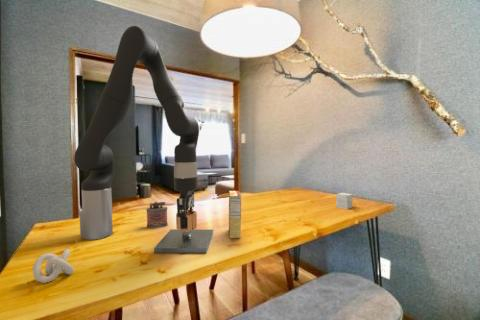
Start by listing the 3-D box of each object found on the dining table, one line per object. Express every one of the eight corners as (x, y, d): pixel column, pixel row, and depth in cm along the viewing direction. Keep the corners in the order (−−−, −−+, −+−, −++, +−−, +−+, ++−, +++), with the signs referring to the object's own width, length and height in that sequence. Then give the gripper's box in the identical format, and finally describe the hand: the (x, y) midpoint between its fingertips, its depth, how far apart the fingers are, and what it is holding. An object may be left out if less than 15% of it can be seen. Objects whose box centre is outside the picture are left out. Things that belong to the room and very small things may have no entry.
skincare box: (341, 205, 127) (341, 192, 127) (352, 207, 122) (352, 194, 122) (335, 207, 123) (336, 193, 123) (347, 209, 119) (347, 195, 118)
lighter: (146, 228, 92) (145, 203, 91) (147, 225, 95) (146, 201, 94) (167, 226, 94) (167, 202, 93) (167, 223, 97) (167, 200, 96)
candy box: (228, 229, 90) (228, 190, 89) (239, 229, 90) (239, 190, 90) (229, 238, 81) (229, 195, 80) (241, 238, 82) (241, 195, 81)
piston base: (154, 252, 70) (153, 230, 70) (170, 233, 86) (170, 214, 86) (206, 253, 70) (206, 230, 70) (213, 233, 86) (213, 215, 86)
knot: (84, 270, 60) (83, 248, 60) (53, 288, 53) (51, 263, 52) (62, 266, 62) (61, 245, 62) (28, 283, 55) (27, 259, 54)
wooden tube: (174, 231, 75) (173, 215, 74) (179, 224, 81) (179, 210, 81) (194, 231, 74) (194, 215, 74) (198, 224, 81) (198, 210, 81)
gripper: (180, 173, 84) (181, 218, 85) (167, 178, 70) (168, 232, 71) (200, 173, 84) (201, 218, 85) (192, 178, 70) (193, 232, 70)
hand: (186, 224), depth 78 cm, fingers closed on wooden tube, 6 cm apart
